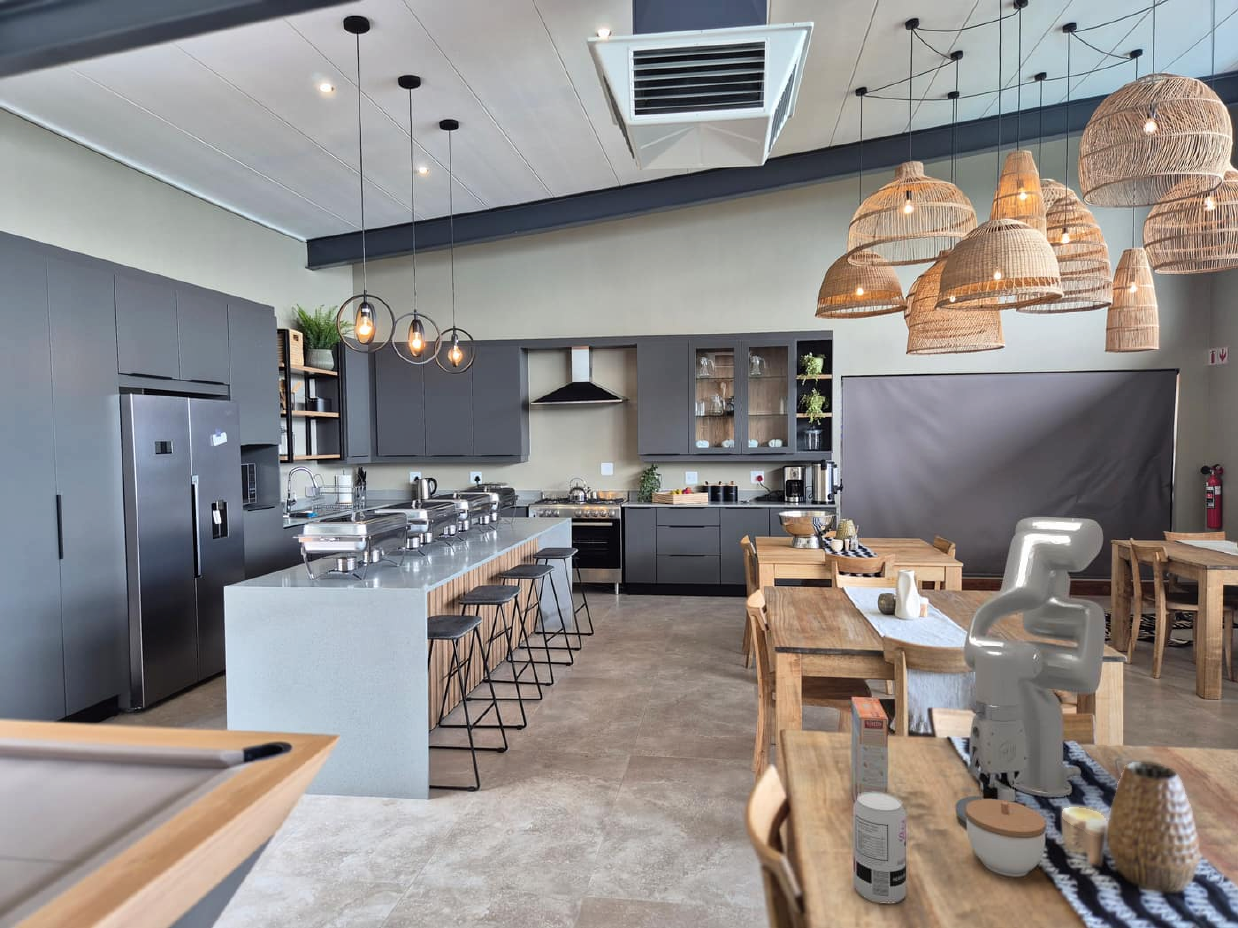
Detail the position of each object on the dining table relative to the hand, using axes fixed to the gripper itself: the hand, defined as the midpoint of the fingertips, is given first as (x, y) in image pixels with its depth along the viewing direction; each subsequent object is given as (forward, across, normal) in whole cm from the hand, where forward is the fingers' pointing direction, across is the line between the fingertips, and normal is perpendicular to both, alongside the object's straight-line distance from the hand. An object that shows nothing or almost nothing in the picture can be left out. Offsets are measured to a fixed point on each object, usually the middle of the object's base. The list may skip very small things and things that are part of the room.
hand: (997, 803), depth 147 cm
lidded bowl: (+4, -10, -13) cm, 17 cm away
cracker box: (+4, -20, +13) cm, 24 cm away
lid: (+3, 0, 0) cm, 3 cm away
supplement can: (+4, -36, -15) cm, 39 cm away
